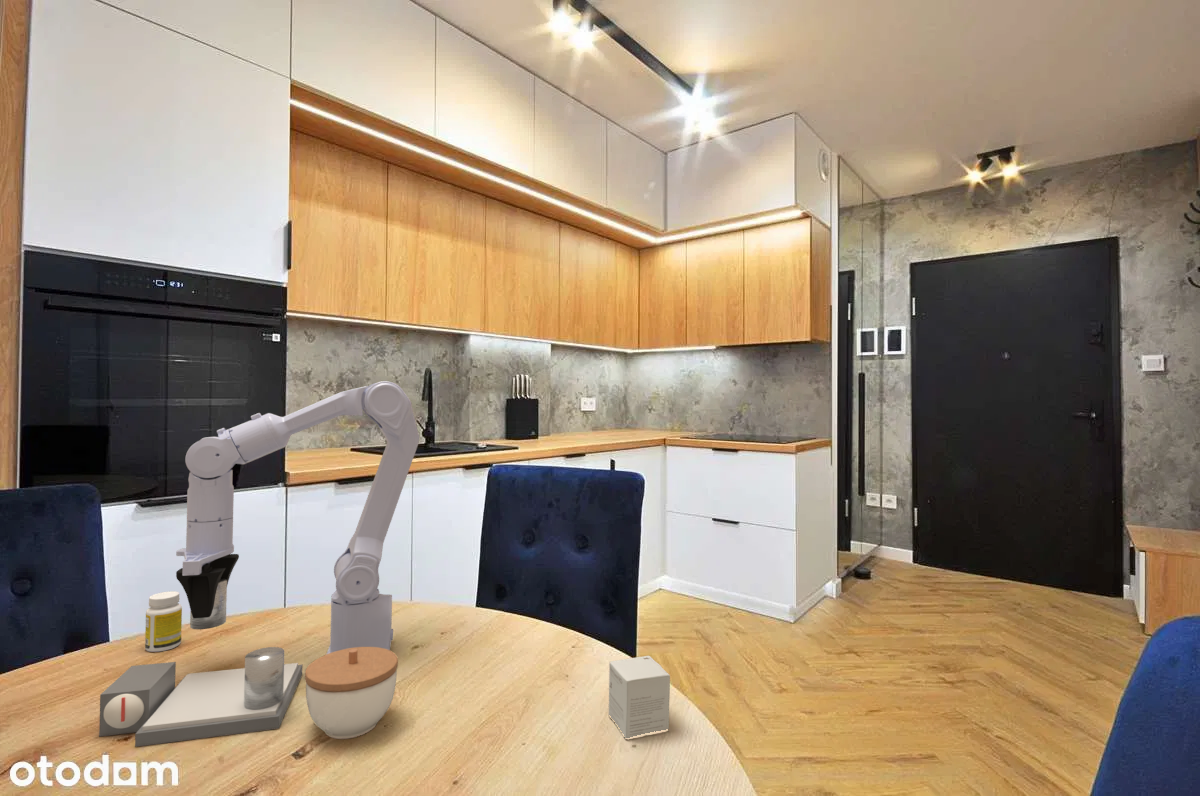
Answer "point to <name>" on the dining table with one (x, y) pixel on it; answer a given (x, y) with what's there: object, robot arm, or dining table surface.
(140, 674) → the scale
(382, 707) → the lidded jar
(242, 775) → the dining table surface
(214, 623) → the cylinder
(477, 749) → the dining table surface
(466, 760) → the dining table surface
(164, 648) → the supplement bottle
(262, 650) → the cylinder
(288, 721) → the dining table surface
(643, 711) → the product box
